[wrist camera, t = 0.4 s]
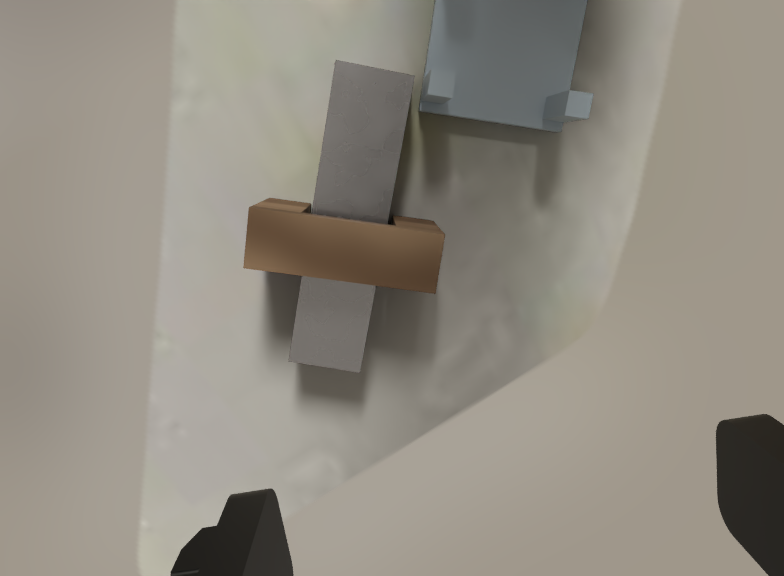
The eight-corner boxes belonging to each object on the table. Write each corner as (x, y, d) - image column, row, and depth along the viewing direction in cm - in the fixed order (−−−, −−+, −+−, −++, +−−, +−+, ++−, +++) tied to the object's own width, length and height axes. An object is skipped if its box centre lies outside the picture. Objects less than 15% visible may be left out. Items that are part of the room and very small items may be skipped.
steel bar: (340, 70, 34) (335, 59, 30) (410, 84, 34) (414, 75, 30) (297, 339, 37) (288, 361, 33) (361, 349, 37) (360, 372, 34)
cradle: (444, -63, 32) (456, -101, 27) (589, -38, 33) (627, -71, 28) (418, 111, 34) (426, 105, 29) (556, 132, 35) (586, 129, 30)
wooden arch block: (269, 197, 35) (248, 207, 29) (433, 220, 35) (445, 234, 30) (264, 248, 36) (243, 268, 30) (425, 270, 36) (435, 293, 30)
